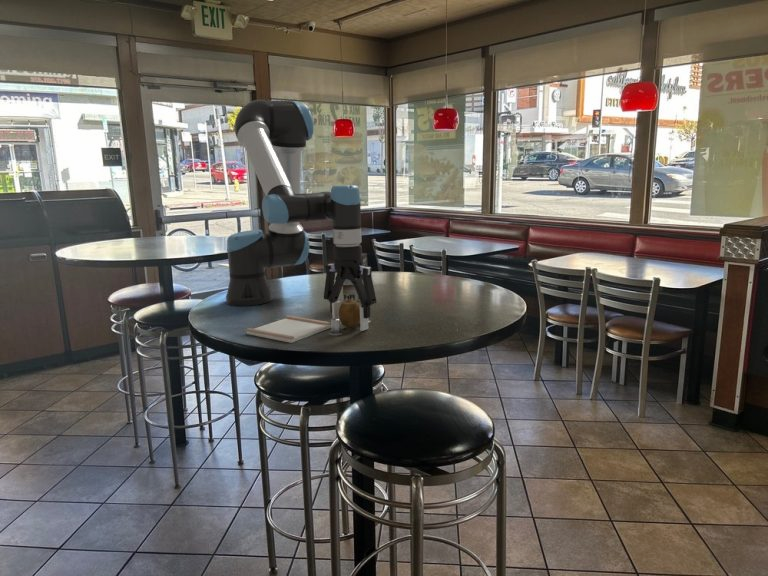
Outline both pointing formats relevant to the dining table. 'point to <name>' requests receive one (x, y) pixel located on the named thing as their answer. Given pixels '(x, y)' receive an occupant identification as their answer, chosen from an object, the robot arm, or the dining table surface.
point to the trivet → (290, 329)
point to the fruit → (349, 313)
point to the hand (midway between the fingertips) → (350, 327)
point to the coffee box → (349, 288)
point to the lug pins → (337, 327)
